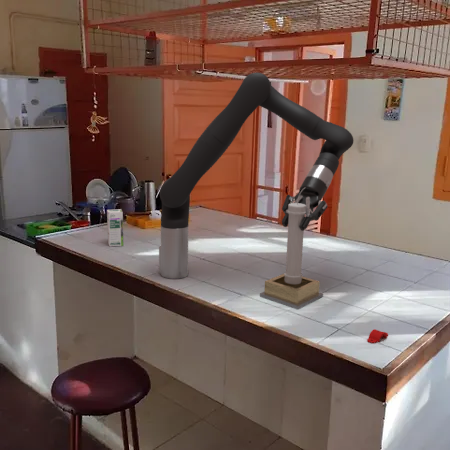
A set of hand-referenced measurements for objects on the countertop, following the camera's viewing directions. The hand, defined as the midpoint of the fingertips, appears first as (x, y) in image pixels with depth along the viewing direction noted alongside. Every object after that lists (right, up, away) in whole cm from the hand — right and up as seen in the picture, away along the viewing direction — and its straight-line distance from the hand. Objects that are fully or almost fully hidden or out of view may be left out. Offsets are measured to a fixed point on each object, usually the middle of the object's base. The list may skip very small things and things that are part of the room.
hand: (292, 227), depth 149 cm
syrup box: (-65, -8, +57) cm, 87 cm away
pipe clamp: (+19, -29, -20) cm, 40 cm away
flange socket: (+1, -21, +6) cm, 22 cm away
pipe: (+1, -17, +5) cm, 18 cm away
